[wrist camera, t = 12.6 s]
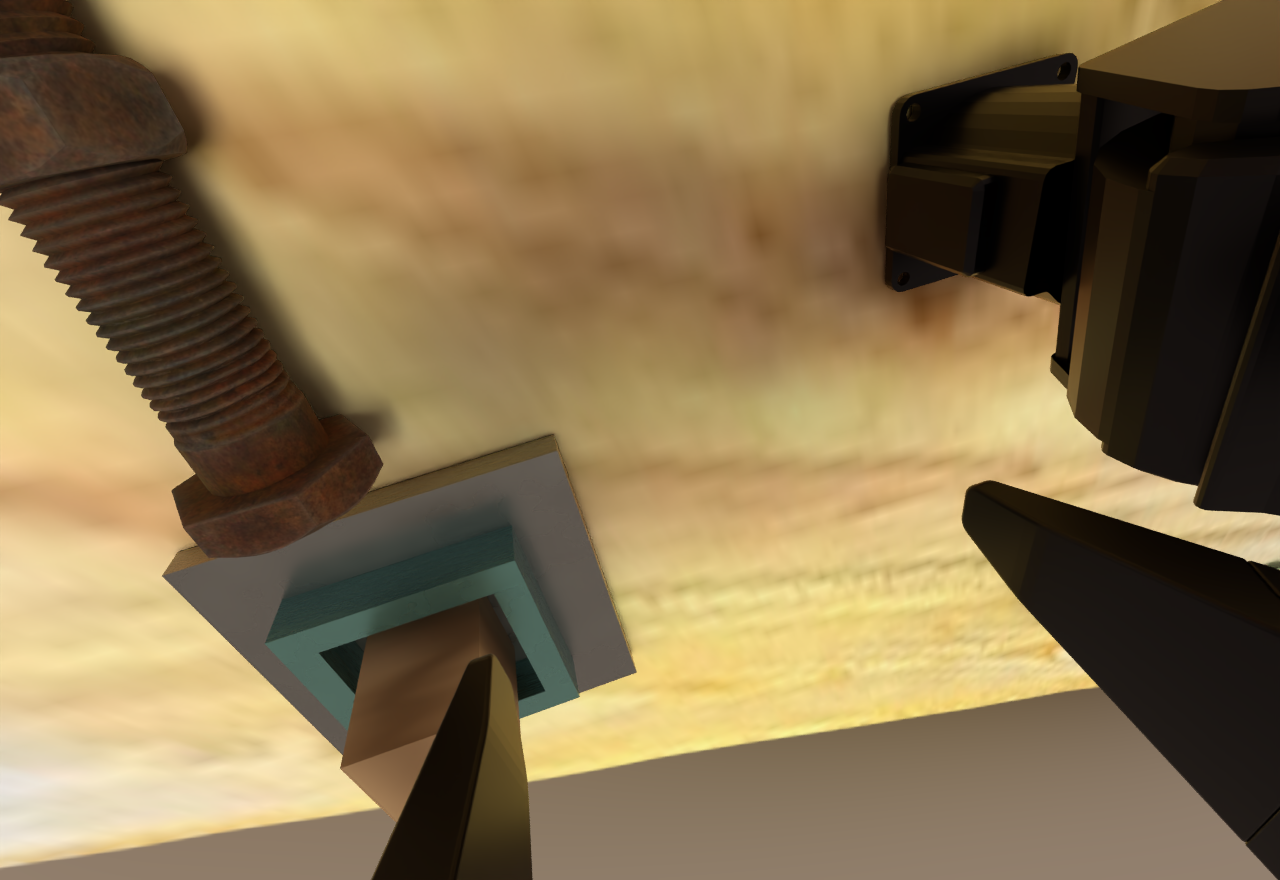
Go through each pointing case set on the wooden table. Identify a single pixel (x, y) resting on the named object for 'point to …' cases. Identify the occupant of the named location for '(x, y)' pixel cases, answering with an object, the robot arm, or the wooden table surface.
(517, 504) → the socket plate
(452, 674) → the walnut peg
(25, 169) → the bolt
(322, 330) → the wooden table surface
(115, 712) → the wooden table surface
